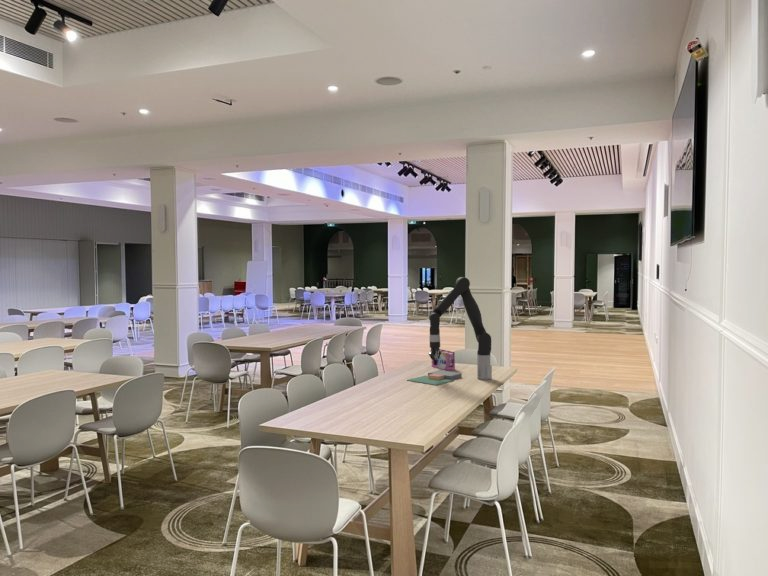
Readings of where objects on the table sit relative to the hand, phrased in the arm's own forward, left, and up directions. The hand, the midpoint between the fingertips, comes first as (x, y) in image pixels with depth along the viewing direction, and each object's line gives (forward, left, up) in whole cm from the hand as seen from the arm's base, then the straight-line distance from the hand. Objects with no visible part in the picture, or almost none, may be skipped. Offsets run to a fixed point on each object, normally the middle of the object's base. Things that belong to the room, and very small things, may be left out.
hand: (435, 365), depth 404 cm
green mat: (0, +6, -10) cm, 12 cm away
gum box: (+24, -42, -11) cm, 50 cm away
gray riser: (0, -11, -10) cm, 15 cm away
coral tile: (0, -1, -10) cm, 10 cm away
